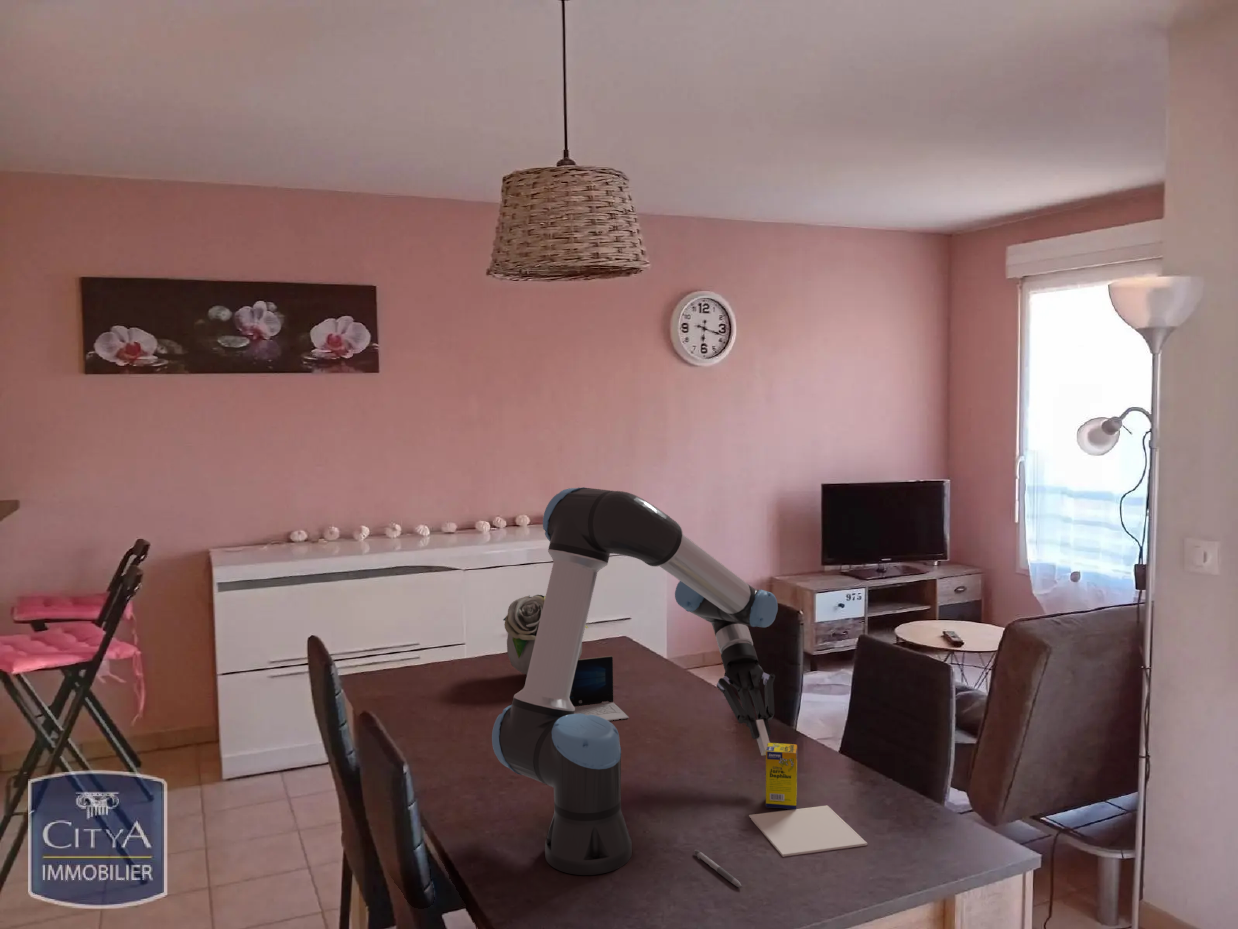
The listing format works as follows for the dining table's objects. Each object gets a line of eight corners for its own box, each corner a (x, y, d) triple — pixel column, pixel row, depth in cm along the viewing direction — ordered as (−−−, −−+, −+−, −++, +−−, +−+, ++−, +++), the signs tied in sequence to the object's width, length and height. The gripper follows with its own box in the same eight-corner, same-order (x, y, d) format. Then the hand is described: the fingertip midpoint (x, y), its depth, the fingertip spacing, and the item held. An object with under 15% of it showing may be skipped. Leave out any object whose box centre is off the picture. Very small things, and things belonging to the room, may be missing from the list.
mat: (867, 845, 169) (867, 843, 169) (782, 856, 165) (782, 854, 165) (827, 807, 184) (827, 805, 184) (749, 817, 180) (749, 815, 180)
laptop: (558, 729, 230) (557, 676, 229) (546, 713, 242) (544, 662, 241) (629, 720, 236) (628, 668, 235) (613, 704, 248) (612, 655, 247)
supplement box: (796, 810, 182) (796, 753, 182) (765, 808, 183) (765, 751, 183) (797, 799, 188) (797, 744, 188) (766, 797, 189) (766, 742, 189)
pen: (697, 855, 167) (697, 847, 167) (743, 891, 155) (743, 882, 154) (692, 856, 166) (692, 848, 166) (738, 893, 154) (738, 884, 154)
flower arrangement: (494, 694, 257) (492, 604, 255) (508, 667, 282) (506, 585, 280) (586, 693, 256) (584, 604, 254) (592, 667, 281) (590, 585, 279)
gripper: (760, 656, 212) (791, 757, 197) (704, 661, 209) (731, 763, 194) (769, 638, 206) (802, 741, 192) (712, 643, 203) (740, 747, 189)
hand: (766, 752), depth 193 cm, fingers closed
